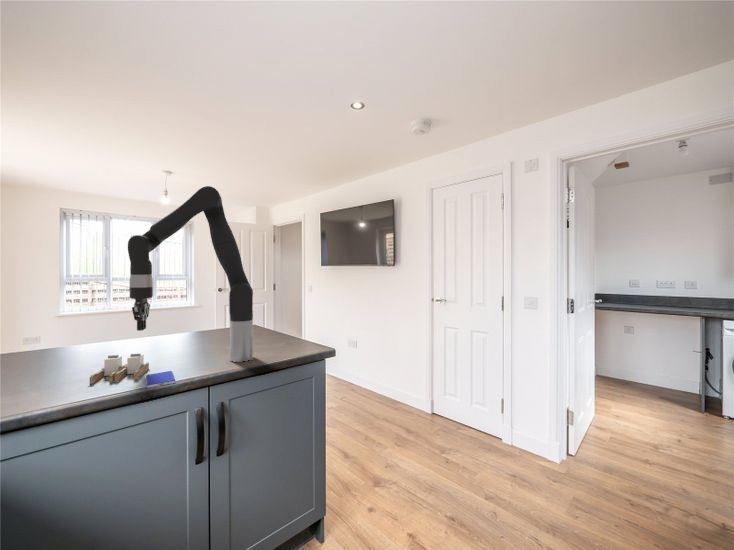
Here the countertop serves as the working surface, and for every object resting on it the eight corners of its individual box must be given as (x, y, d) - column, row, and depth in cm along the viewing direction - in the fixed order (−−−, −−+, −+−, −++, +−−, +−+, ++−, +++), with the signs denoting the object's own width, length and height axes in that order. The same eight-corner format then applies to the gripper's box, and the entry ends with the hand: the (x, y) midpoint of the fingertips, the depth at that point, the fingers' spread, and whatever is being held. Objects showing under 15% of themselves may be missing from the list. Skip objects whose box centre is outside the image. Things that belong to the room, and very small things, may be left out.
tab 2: (143, 369, 125) (143, 352, 124) (140, 373, 121) (140, 354, 121) (131, 370, 123) (131, 353, 123) (127, 374, 119) (127, 355, 119)
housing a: (148, 368, 127) (148, 361, 127) (136, 380, 114) (136, 372, 114) (129, 370, 125) (129, 363, 125) (114, 382, 111) (114, 374, 111)
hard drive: (145, 374, 117) (147, 384, 107) (172, 370, 122) (175, 379, 112) (145, 379, 117) (147, 389, 107) (172, 374, 122) (175, 384, 112)
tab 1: (121, 371, 122) (121, 353, 122) (117, 374, 118) (117, 356, 118) (109, 372, 121) (109, 354, 121) (104, 375, 117) (104, 357, 117)
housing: (127, 370, 125) (127, 363, 124) (112, 382, 111) (112, 374, 111) (107, 372, 122) (107, 364, 122) (89, 384, 109) (89, 376, 109)
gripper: (146, 287, 123) (147, 332, 123) (157, 285, 136) (157, 326, 136) (123, 287, 120) (123, 333, 121) (136, 285, 133) (136, 327, 134)
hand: (141, 329), depth 128 cm, fingers closed
